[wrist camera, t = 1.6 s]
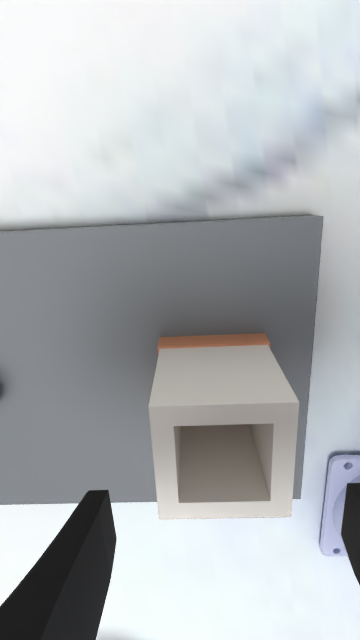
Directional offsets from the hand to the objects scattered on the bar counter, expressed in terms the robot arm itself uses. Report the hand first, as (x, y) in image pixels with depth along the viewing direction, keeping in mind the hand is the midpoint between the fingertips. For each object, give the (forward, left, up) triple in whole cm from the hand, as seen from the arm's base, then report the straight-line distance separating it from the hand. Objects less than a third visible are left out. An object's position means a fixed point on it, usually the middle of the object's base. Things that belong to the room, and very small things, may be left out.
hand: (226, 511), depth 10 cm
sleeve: (0, 0, -8) cm, 8 cm away
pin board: (+6, 0, -9) cm, 11 cm away
